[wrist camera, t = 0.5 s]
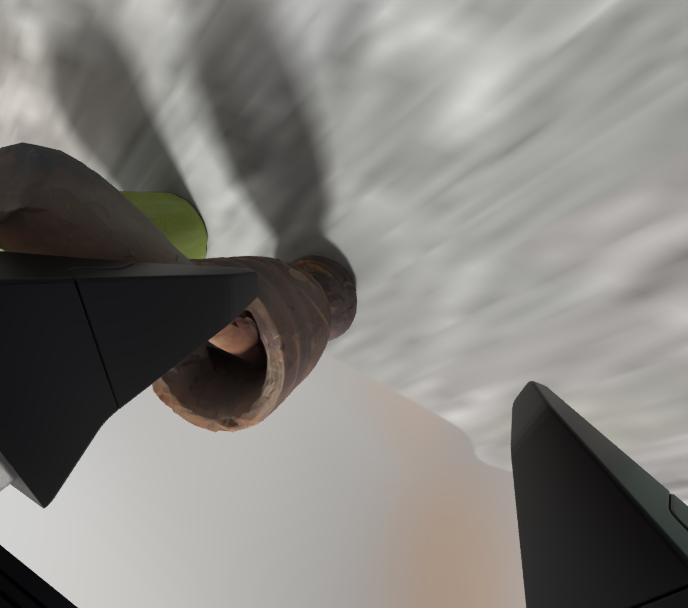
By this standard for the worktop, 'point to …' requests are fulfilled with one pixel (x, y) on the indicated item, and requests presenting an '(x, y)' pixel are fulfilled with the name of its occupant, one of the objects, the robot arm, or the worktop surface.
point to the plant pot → (173, 220)
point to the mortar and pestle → (153, 247)
